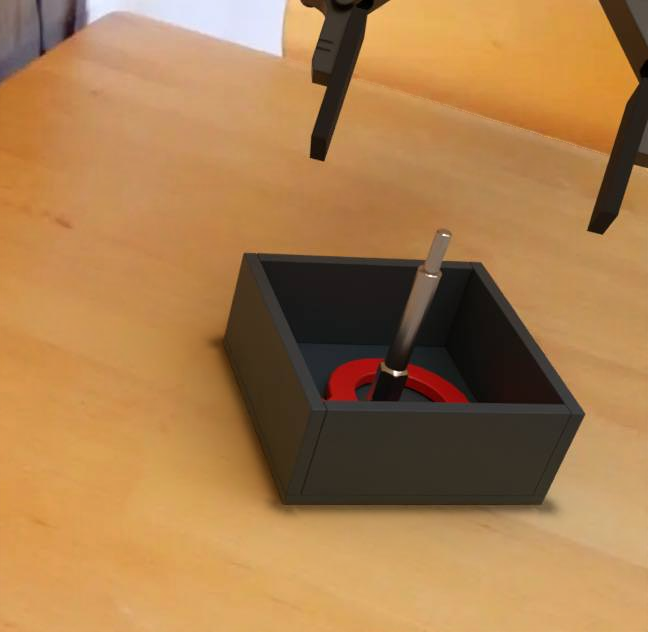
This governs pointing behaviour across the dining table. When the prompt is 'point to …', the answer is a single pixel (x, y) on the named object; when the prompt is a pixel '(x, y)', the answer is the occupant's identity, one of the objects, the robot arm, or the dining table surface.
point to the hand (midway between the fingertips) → (457, 186)
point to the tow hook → (401, 347)
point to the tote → (413, 407)
